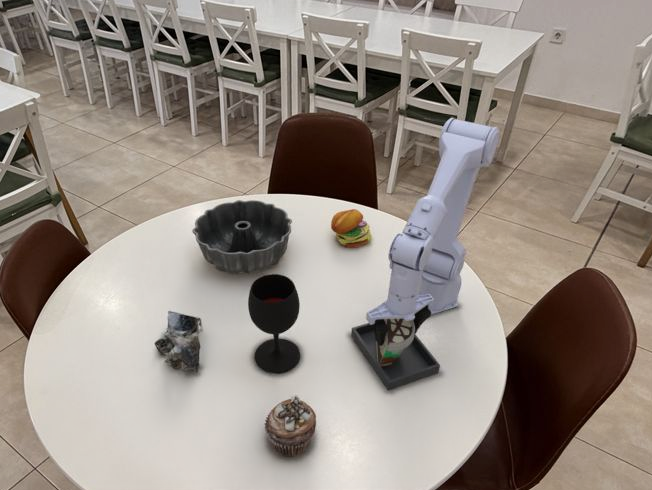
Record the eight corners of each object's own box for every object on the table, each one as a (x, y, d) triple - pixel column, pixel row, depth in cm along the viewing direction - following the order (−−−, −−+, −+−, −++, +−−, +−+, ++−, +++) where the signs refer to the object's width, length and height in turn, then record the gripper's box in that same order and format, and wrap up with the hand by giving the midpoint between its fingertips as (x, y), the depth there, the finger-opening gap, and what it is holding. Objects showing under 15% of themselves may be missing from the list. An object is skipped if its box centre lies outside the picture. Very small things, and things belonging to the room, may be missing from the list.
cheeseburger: (369, 252, 138) (362, 221, 131) (332, 254, 142) (324, 224, 136) (374, 231, 145) (369, 201, 138) (339, 234, 149) (332, 205, 142)
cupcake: (291, 409, 100) (290, 377, 93) (326, 439, 95) (327, 408, 88) (255, 438, 96) (251, 407, 89) (289, 471, 91) (288, 440, 84)
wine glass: (266, 380, 106) (259, 312, 92) (246, 349, 113) (237, 281, 99) (308, 362, 109) (308, 294, 95) (287, 333, 116) (284, 265, 102)
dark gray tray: (397, 321, 118) (398, 313, 116) (438, 373, 106) (440, 365, 104) (351, 336, 115) (351, 327, 113) (387, 390, 103) (389, 382, 101)
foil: (219, 316, 116) (194, 329, 101) (214, 360, 118) (188, 379, 104) (173, 307, 118) (142, 318, 103) (168, 350, 120) (137, 367, 106)
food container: (406, 376, 106) (420, 348, 99) (378, 373, 106) (389, 344, 98) (401, 332, 114) (414, 303, 107) (375, 329, 114) (386, 299, 107)
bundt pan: (264, 219, 152) (262, 189, 145) (311, 263, 135) (311, 232, 128) (184, 247, 142) (177, 217, 135) (223, 298, 126) (218, 266, 119)
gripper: (380, 311, 93) (374, 359, 102) (447, 291, 96) (434, 340, 106) (363, 288, 98) (358, 337, 107) (427, 271, 101) (416, 319, 110)
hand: (395, 337), depth 107 cm, fingers open, 7 cm apart
